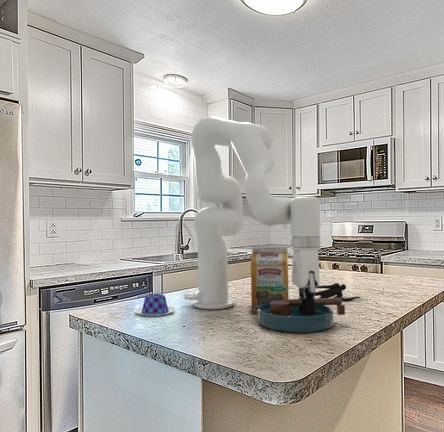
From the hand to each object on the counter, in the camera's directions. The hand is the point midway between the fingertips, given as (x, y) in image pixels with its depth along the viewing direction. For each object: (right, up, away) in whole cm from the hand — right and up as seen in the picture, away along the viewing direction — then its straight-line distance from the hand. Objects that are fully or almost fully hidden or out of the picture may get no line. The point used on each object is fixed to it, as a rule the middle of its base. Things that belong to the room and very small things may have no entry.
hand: (306, 313), depth 108 cm
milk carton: (-7, -3, +17) cm, 19 cm away
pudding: (-42, -4, +16) cm, 45 cm away
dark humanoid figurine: (+15, -3, +27) cm, 31 cm away
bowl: (-3, -3, +1) cm, 4 cm away
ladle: (0, -1, 0) cm, 1 cm away
